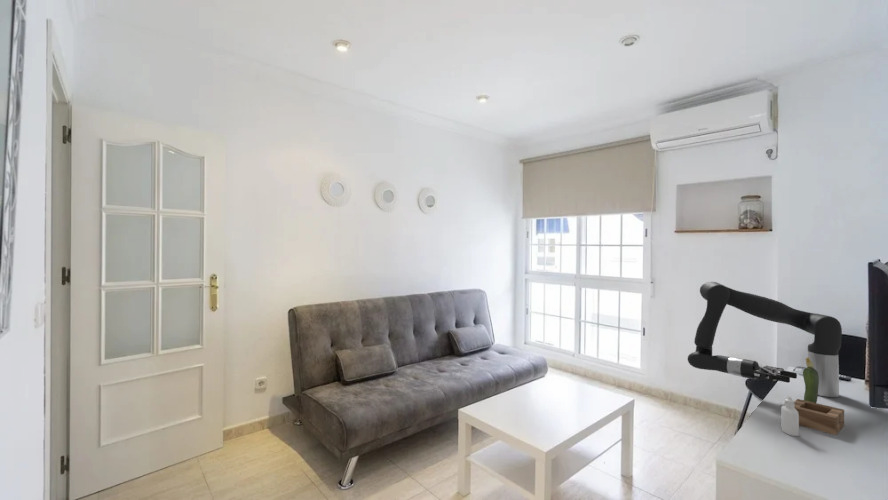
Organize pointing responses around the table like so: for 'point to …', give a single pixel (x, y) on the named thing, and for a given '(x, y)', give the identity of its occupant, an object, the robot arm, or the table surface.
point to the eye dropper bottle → (790, 418)
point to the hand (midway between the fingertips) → (793, 377)
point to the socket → (820, 416)
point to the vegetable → (810, 382)
